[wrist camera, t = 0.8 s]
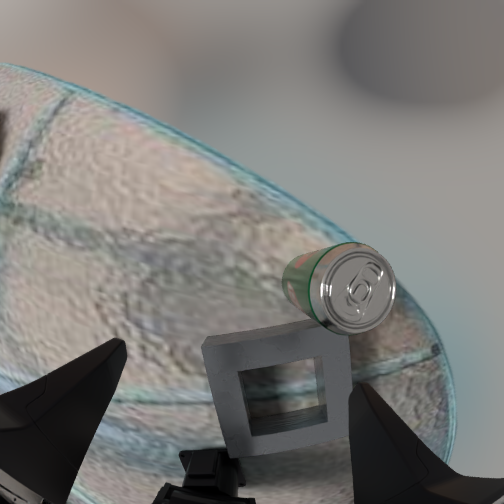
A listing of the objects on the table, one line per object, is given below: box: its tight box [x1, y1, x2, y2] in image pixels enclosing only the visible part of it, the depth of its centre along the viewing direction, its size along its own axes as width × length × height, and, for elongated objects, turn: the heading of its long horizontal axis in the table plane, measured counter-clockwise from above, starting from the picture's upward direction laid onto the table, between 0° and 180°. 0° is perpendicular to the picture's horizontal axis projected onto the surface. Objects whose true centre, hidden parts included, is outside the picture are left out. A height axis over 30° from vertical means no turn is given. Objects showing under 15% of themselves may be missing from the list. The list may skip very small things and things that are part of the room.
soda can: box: [282, 242, 396, 336], centre depth 19 cm, size 5×5×12 cm
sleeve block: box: [201, 319, 353, 458], centre depth 22 cm, size 12×12×4 cm
